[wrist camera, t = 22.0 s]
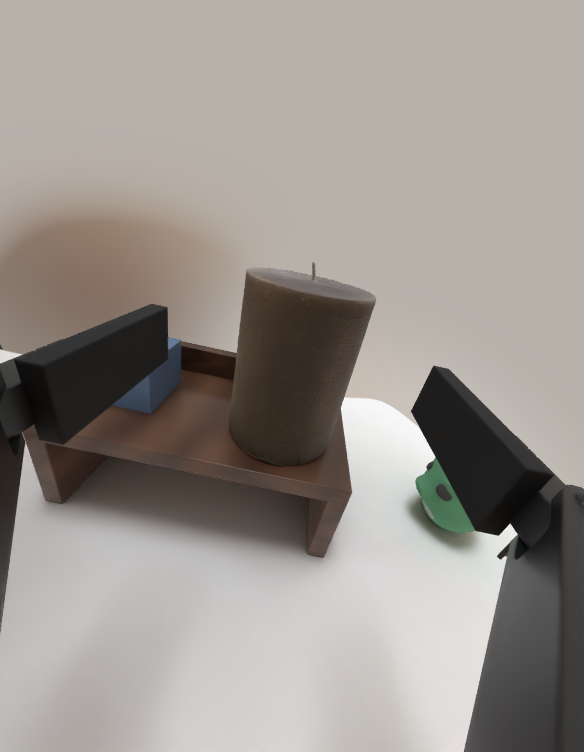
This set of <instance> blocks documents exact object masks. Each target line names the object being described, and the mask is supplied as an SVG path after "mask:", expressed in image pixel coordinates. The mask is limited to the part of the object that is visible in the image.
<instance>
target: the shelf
mask: <svg viewBox="0 0 584 752" xmlns="http://www.w3.org/2000/svg"><path fill="white" fill-rule="evenodd" d="M236 355H237V353H233V352H229V351H224V350H219V349H215V348H210V347H205V346H200V345H196V344H192V343H187V342H182V341H181V383H180V384H179V385H178V386H177V387H176V388H175V389H174V390H173V391H172V392H171V393H170V394H169V396H168V397H167V398H166V399H165V400H164V401H163V402H162V403H161V404H160V405H159V406H158V407H157V408H156V409H155V410H154V411H153V412H152V413H151V414H149V413H144V412H139V411H135V410H130V409H125V408H120V407H116V406H110V407H109V408H108V409H107V410H106V411H104V412H103V413H102V414H101V415H99V416H98V417H97V418H96V419H95V420H93V421H92V422H91V423H90V424H88V425H87V426H86V427H85V428H84V429H82V430H81V431H80V432H79V433H77V434H76V435H75V436H74V437H73V438H71V439H70V440H69V441H68V442H67V443H65V444H64V445H61V444H56V443H51V442H47V441H42V440H39V439H38V436H37V433H36V429H35V426H34V425H32V426H31V427H29V428H28V429H26V430H25V431H23V435H24V438H25V441H26V444H27V447H28V450H29V453H30V456H31V459H32V462H33V465H34V468H35V471H36V474H37V477H38V480H39V483H40V485H41V488H42V491H43V494H44V497H45V500H47V501H52V502H56V503H61V504H62V503H63V502H64V501H65V500H66V499H67V498H68V497H69V496H70V495H71V494H72V493H73V492H74V491H75V490H76V489H77V488H78V487H79V486H80V485H81V484H82V483H83V482H84V481H85V480H86V479H87V477H88V476H89V475H90V474H91V473H92V472H93V471H94V470H95V469H96V468H97V467H98V466H99V465H100V464H101V463H102V462H103V461H104V460H105V459H106V458H107V457H108V456H112V457H116V458H121V459H126V460H131V461H136V462H140V463H145V464H150V465H155V466H160V467H164V468H169V469H174V470H179V471H183V472H188V473H193V474H198V475H203V476H207V477H212V478H217V479H222V480H227V481H231V482H236V483H241V484H246V485H250V486H255V487H260V488H265V489H270V490H274V491H279V492H284V493H289V494H294V495H298V496H303V497H308V498H309V509H308V538H307V554H309V555H314V556H319V557H324V555H325V553H326V551H327V548H328V546H329V544H330V542H331V539H332V537H333V535H334V532H335V530H336V528H337V526H338V523H339V521H340V519H341V517H342V514H343V512H344V510H345V508H346V505H347V503H348V501H349V498H350V496H351V494H352V489H351V482H350V474H349V467H348V459H347V452H346V445H345V437H344V430H343V422H342V415H341V409H340V412H339V415H338V418H337V421H336V424H335V427H334V430H333V433H332V436H331V439H330V442H329V445H328V447H327V449H326V450H325V452H324V453H323V454H322V455H321V456H320V457H318V458H317V459H315V460H313V461H311V462H308V463H305V464H301V465H291V466H282V465H280V466H278V465H274V464H270V463H268V462H265V461H262V460H260V459H256V458H254V457H253V456H251V455H249V454H248V453H246V452H245V451H244V450H242V449H241V448H240V447H239V446H238V445H237V444H236V443H235V441H234V440H233V438H232V435H231V432H230V428H229V414H230V407H231V398H232V391H233V383H234V375H235V367H236Z"/></svg>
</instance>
